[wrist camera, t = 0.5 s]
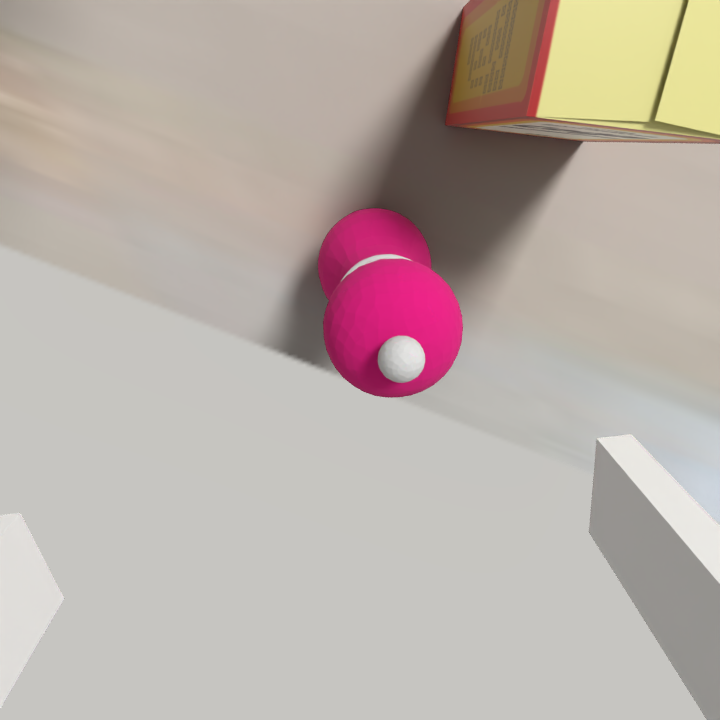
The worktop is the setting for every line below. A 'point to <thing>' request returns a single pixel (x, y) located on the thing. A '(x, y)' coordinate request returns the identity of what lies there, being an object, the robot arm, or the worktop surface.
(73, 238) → the worktop surface
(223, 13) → the worktop surface
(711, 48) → the baking soda box
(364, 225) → the pepper mill
